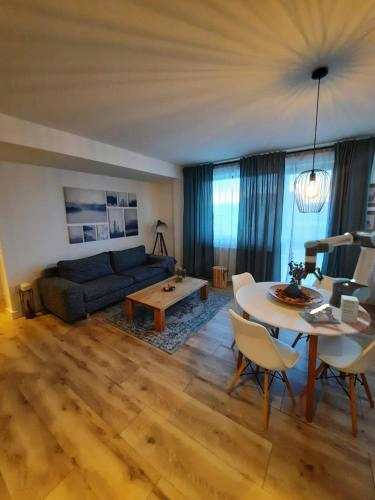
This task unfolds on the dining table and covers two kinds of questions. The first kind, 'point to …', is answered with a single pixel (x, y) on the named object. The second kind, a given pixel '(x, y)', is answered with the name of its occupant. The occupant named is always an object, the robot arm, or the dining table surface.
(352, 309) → the supplement box
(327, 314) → the base plate
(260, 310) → the dining table surface
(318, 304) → the strap
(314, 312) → the strap
